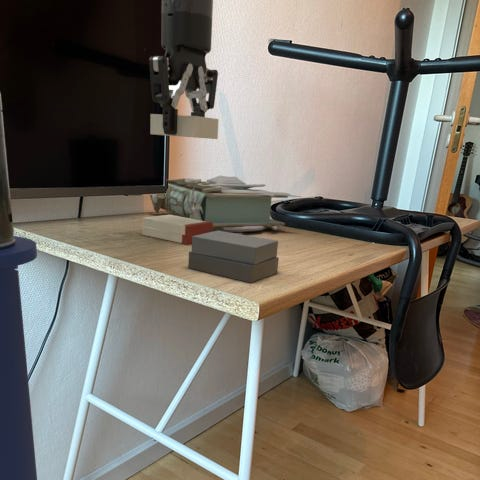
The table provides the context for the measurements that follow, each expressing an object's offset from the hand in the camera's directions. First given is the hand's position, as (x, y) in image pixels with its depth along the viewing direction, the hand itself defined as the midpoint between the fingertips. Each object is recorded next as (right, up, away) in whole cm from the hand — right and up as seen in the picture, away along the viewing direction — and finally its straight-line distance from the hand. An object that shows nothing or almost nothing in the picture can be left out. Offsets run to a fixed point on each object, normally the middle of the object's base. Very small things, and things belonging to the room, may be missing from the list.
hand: (183, 135), depth 78 cm
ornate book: (+5, -9, +26) cm, 28 cm away
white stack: (-2, -15, +8) cm, 17 cm away
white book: (0, 0, 0) cm, 0 cm away
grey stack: (+8, -23, -12) cm, 27 cm away
